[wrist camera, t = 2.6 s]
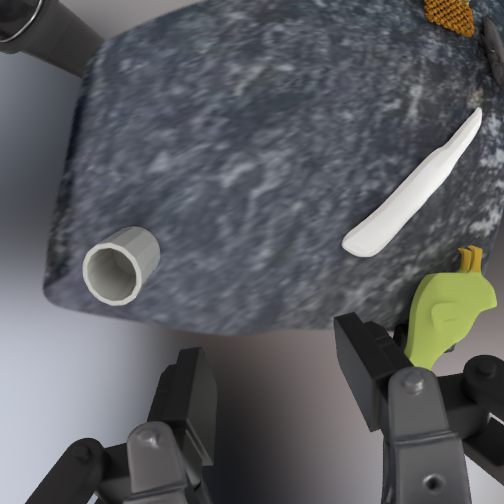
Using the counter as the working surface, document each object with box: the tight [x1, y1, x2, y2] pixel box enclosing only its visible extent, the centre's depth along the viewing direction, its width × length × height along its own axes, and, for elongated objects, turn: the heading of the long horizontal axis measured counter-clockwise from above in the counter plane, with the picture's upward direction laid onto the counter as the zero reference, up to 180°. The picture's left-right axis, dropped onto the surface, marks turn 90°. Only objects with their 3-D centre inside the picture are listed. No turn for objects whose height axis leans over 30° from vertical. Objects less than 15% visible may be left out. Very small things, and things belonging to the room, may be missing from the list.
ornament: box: [424, 0, 474, 37], centre depth 23 cm, size 7×10×15 cm
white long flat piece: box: [342, 107, 482, 257], centre depth 31 cm, size 28×4×2 cm, turn 134°
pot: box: [83, 226, 160, 306], centre depth 29 cm, size 6×6×8 cm
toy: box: [404, 246, 497, 371], centre depth 33 cm, size 6×17×20 cm
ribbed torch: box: [479, 17, 504, 90], centre depth 25 cm, size 9×13×3 cm
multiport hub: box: [393, 324, 456, 353], centre depth 37 cm, size 4×11×2 cm, turn 88°
